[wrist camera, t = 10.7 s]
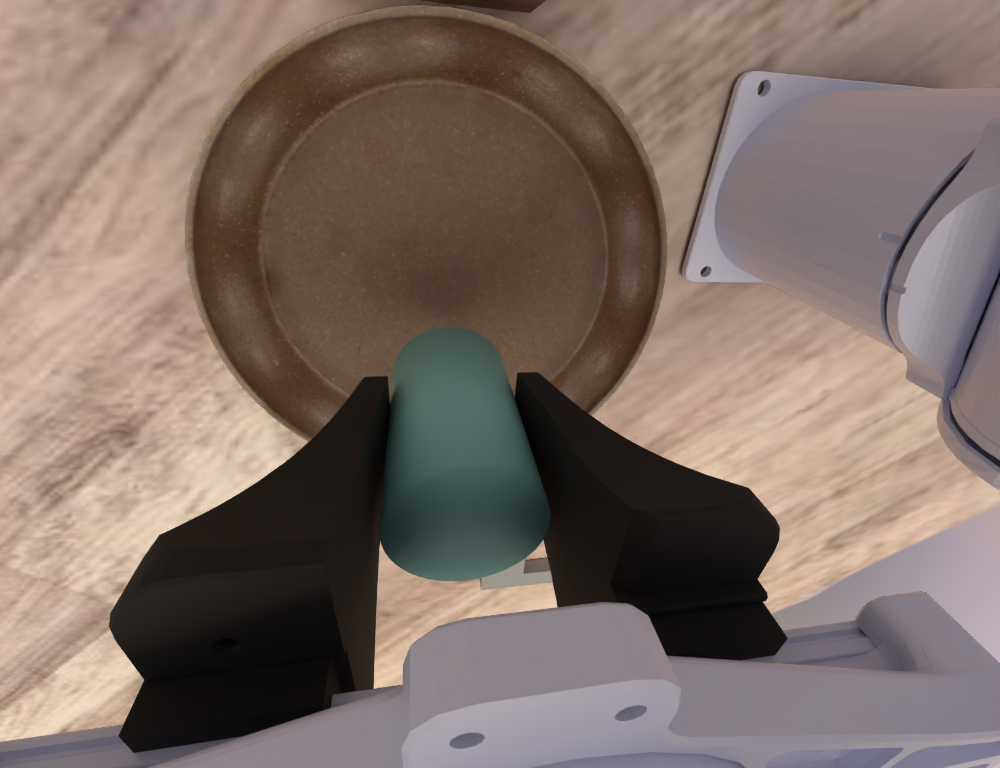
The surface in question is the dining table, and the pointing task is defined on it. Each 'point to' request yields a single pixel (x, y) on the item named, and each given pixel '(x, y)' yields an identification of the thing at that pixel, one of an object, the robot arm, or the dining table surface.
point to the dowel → (458, 462)
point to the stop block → (498, 4)
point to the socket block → (519, 575)
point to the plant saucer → (422, 212)
